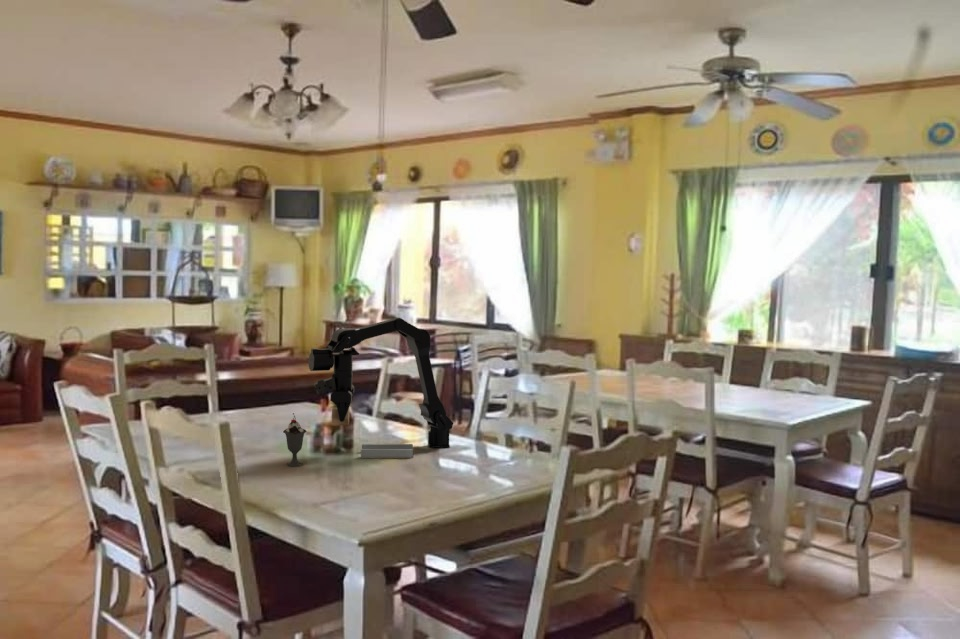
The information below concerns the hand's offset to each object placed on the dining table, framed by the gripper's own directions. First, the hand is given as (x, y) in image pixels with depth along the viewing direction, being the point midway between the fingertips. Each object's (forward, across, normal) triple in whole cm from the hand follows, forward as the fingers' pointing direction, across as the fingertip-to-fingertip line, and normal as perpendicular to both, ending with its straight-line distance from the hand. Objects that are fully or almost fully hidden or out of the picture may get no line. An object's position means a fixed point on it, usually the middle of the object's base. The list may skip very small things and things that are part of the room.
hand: (342, 419), depth 263 cm
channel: (+11, 0, +14) cm, 18 cm away
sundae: (+11, +13, -13) cm, 22 cm away
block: (+1, 0, 0) cm, 1 cm away
